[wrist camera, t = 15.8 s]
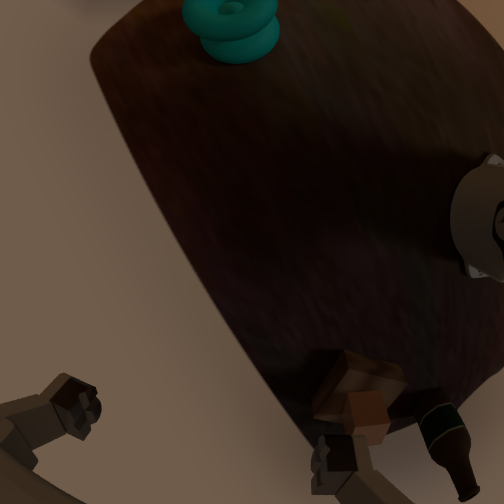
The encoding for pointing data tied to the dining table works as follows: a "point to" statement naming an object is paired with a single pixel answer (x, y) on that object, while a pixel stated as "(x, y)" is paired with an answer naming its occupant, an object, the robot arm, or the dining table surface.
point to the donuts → (233, 27)
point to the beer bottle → (447, 439)
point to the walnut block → (356, 384)
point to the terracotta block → (366, 416)
